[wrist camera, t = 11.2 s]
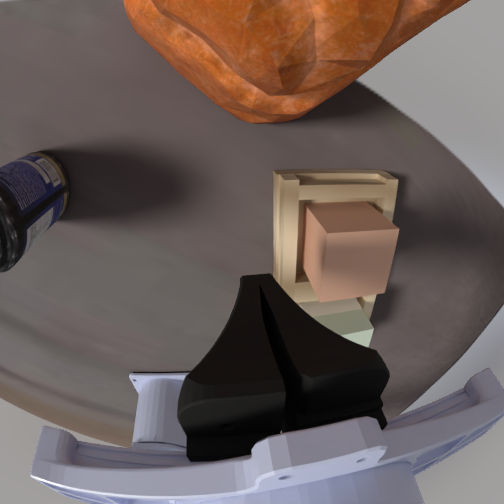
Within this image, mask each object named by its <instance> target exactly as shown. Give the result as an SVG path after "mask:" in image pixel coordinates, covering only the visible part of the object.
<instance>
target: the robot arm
mask: <svg viewBox="0 0 504 504" xmlns="http://www.w3.org/2000/svg"><path fill="white" fill-rule="evenodd" d="M389 377H390V374H389V370H388V368H387V366H386V365H385V363H384V361H383V359H382V358H381V356H380V355H379V354H378V352H377V351H376V350H374V349H371V348H368V347H365V346H363V345H360V344H357V343H355V342H353V341H351V340H349V339H347V338H344V337H342V336H341V335H339V334H337V333H335V332H333V331H332V330H330V329H328V328H327V327H325V326H324V325H322V324H321V323H319V322H318V321H317V320H315V319H314V318H313V317H311V316H310V315H309V314H308V313H307V312H305V311H304V310H303V309H302V308H301V307H300V306H299V305H298V304H297V303H296V302H295V301H294V300H293V299H292V298H291V297H290V296H289V295H288V294H287V293H286V292H285V291H284V289H283V288H282V287H281V286H280V285H279V283H278V282H277V281H276V280H275V278H274V277H273V276H272V275H271V274H270V273H269V274H258V275H246V276H242V277H241V278H240V288H239V292H238V296H237V299H236V302H235V305H234V308H233V310H232V313H231V315H230V318H229V320H228V322H227V324H226V326H225V328H224V329H223V331H222V333H221V335H220V336H219V338H218V339H217V341H216V342H215V344H214V345H213V347H212V348H211V349H210V351H209V352H208V353H207V354H206V355H205V357H204V358H203V359H202V360H201V361H200V363H199V364H198V365H197V366H196V367H195V368H194V369H193V370H192V371H191V372H190V373H131V374H130V376H129V378H130V379H131V381H132V383H133V385H134V387H135V388H136V390H137V392H138V394H139V399H138V405H137V412H136V419H135V426H134V434H133V442H132V446H131V448H122V447H114V446H105V445H100V444H93V443H87V442H82V441H77V439H76V438H75V437H74V436H73V435H72V434H70V433H69V432H67V431H64V430H61V429H56V428H52V427H48V426H42V429H41V432H40V436H39V440H38V444H37V447H36V451H35V455H34V459H33V464H32V468H31V473H30V476H31V477H32V478H34V479H35V480H37V481H39V482H40V483H42V484H44V485H46V486H47V487H49V488H51V489H53V490H54V491H56V492H58V493H60V494H62V495H64V496H66V497H69V498H73V499H76V500H79V501H83V502H87V503H91V504H424V501H423V498H422V496H421V493H420V490H419V488H418V485H417V482H416V480H415V477H414V475H416V474H418V473H420V472H422V471H424V470H426V469H428V468H430V467H431V466H433V465H435V464H437V463H439V462H441V461H442V460H444V459H445V458H447V457H449V456H451V455H452V454H454V453H456V452H457V451H459V450H460V449H462V448H464V447H465V446H467V445H468V444H470V443H472V442H473V441H475V440H476V439H478V438H479V437H481V436H482V435H484V434H485V433H486V432H487V431H488V430H489V429H491V428H492V427H493V426H494V425H495V424H496V423H497V421H499V420H500V419H501V418H502V417H503V416H504V389H503V387H502V386H501V384H500V382H499V381H498V380H497V378H496V377H495V375H494V374H493V372H492V371H491V369H490V368H487V369H485V370H483V371H481V372H479V373H477V374H475V375H474V376H473V377H471V378H470V379H469V381H468V382H467V383H466V385H465V386H464V388H462V389H461V390H458V391H456V392H454V393H452V394H450V395H448V396H446V397H443V398H441V399H439V400H437V401H434V402H432V403H430V404H427V405H425V406H422V407H420V408H417V409H415V410H412V411H409V412H407V413H404V414H402V415H399V416H396V417H393V418H390V419H387V420H386V418H385V416H384V413H383V411H382V409H381V408H382V407H383V402H382V400H381V398H380V396H381V394H382V392H383V390H384V388H385V387H386V385H387V383H388V380H389ZM281 430H282V433H281V434H280V432H281Z"/></svg>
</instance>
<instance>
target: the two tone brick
mask: <svg viewBox="0 0 504 504" xmlns="http://www.w3.org/2000/svg"><path fill="white" fill-rule="evenodd" d="M298 305H299V306H300V307H301V308H302V309H303V310H304V311H305V312H307V313H308V314H309V315H310V316H311V317H313V318H314V319H315V320H317V321H318V322H319V323H321V324H322V325H324V326H325V327H327V328H328V329H330V330H332V331H333V332H335V333H337V334H339V335H341V336H342V337H344V338H347V339H349V340H351V341H353V342H355V343H357V344H360V345H363V346H365V347H368V346H369V343H370V340H371V337H372V334H373V330H374V328H373V326H372V324H371V323H370V321H369V319H368V318H367V316H366V314H365V313H364V311H363V309H362V308H361V306H360V304H359V303H358V301H357V299H356V298H349V299H342V300H335V301H327V302H319V300H318V301H310V302H301V303H298Z"/></svg>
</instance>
